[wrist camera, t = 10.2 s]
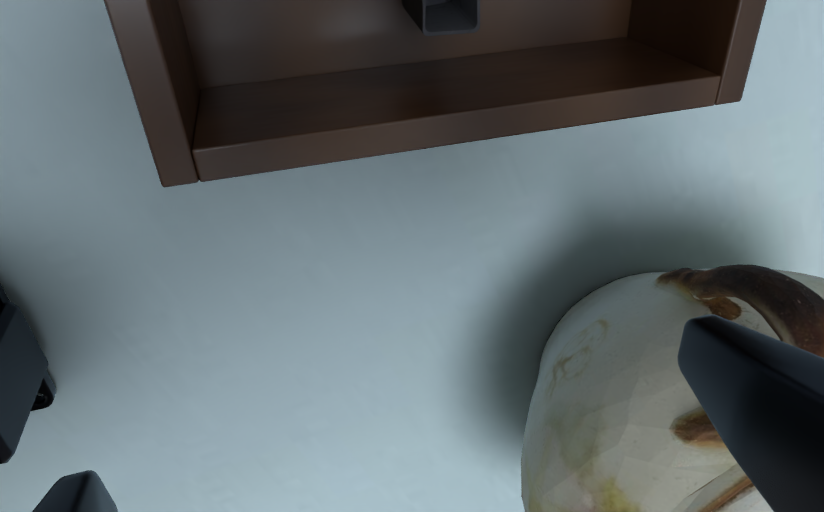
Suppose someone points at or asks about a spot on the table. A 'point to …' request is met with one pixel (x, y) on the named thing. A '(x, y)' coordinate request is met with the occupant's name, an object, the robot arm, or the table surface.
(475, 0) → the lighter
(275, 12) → the caddy
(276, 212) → the table surface
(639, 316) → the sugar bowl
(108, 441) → the table surface
